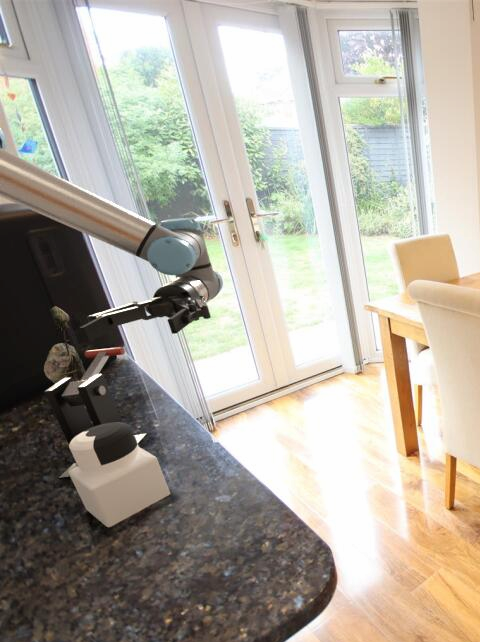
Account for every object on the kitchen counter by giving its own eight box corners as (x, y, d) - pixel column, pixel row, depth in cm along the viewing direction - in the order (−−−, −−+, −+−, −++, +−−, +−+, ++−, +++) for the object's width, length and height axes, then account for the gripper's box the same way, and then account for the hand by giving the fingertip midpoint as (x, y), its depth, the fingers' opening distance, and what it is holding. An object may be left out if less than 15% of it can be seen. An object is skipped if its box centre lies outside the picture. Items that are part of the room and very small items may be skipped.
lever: (92, 357, 75) (84, 346, 73) (127, 353, 76) (120, 342, 74) (59, 408, 67) (49, 397, 65) (99, 403, 68) (89, 392, 66)
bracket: (101, 446, 76) (68, 371, 71) (149, 439, 77) (120, 365, 72) (61, 485, 67) (20, 402, 62) (116, 477, 68) (80, 394, 63)
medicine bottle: (149, 483, 66) (119, 411, 62) (173, 499, 63) (144, 424, 58) (88, 514, 61) (50, 437, 56) (111, 534, 57) (73, 454, 53)
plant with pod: (104, 388, 96) (66, 296, 88) (111, 407, 88) (70, 307, 81) (51, 403, 90) (6, 306, 83) (54, 424, 83) (5, 319, 75)
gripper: (247, 308, 104) (212, 342, 85) (121, 320, 99) (55, 358, 80) (238, 276, 101) (201, 303, 82) (109, 286, 96) (36, 318, 77)
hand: (128, 330), depth 81 cm, fingers open, 13 cm apart
